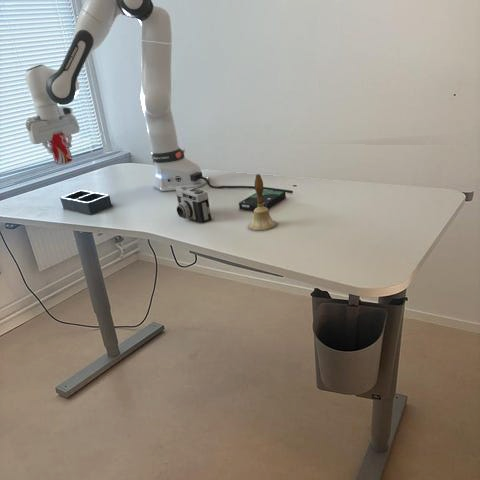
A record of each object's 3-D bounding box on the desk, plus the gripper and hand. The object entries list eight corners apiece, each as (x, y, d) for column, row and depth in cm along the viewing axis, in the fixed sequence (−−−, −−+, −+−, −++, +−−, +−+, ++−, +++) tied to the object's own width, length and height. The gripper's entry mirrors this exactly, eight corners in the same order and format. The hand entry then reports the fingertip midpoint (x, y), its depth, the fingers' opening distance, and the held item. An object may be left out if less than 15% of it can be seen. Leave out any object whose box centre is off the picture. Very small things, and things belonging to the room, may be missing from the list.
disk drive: (264, 213, 164) (286, 198, 174) (263, 205, 162) (285, 190, 172) (239, 210, 169) (261, 196, 179) (238, 202, 168) (260, 188, 178)
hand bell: (257, 220, 159) (251, 170, 151) (280, 222, 155) (276, 171, 147) (244, 229, 153) (238, 178, 145) (268, 231, 149) (263, 179, 141)
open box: (112, 206, 192) (109, 194, 190) (90, 215, 186) (87, 203, 184) (84, 200, 204) (81, 189, 201) (63, 208, 198) (59, 197, 195)
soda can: (68, 165, 194) (58, 133, 188) (52, 166, 196) (42, 135, 189) (76, 160, 200) (67, 129, 193) (61, 161, 201) (51, 131, 195)
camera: (170, 218, 171) (165, 190, 166) (190, 211, 175) (185, 183, 170) (192, 227, 161) (186, 197, 156) (212, 219, 165) (208, 190, 160)
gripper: (28, 119, 180) (41, 157, 187) (75, 107, 192) (86, 144, 199) (19, 119, 183) (33, 157, 191) (67, 107, 196) (77, 143, 203)
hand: (60, 150), depth 195 cm, fingers closed on soda can, 7 cm apart
